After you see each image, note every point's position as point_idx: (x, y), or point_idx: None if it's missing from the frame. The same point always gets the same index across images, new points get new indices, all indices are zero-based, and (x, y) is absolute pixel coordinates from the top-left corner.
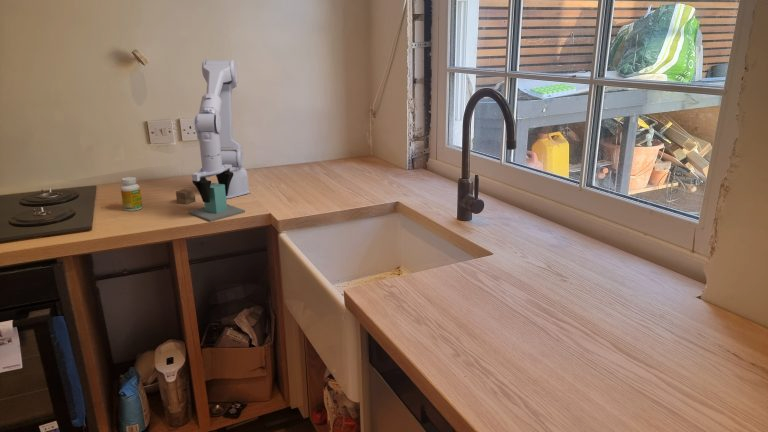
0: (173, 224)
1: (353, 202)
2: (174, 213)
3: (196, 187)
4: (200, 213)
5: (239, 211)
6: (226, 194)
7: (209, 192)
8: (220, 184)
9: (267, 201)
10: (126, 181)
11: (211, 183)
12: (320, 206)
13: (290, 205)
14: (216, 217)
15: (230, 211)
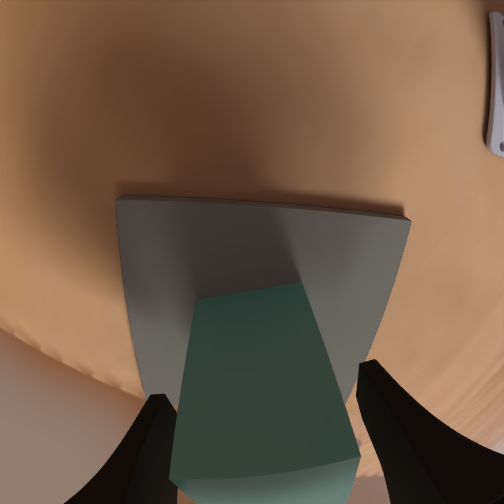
0: (11, 301)
1: (485, 439)
2: (60, 124)
3: (81, 489)
4: (154, 303)
5: None
6: (360, 409)
7: (175, 493)
8: (332, 499)
9: (492, 335)
10: None
11: (324, 466)
12: None
13: (458, 408)
14: None
15: None
